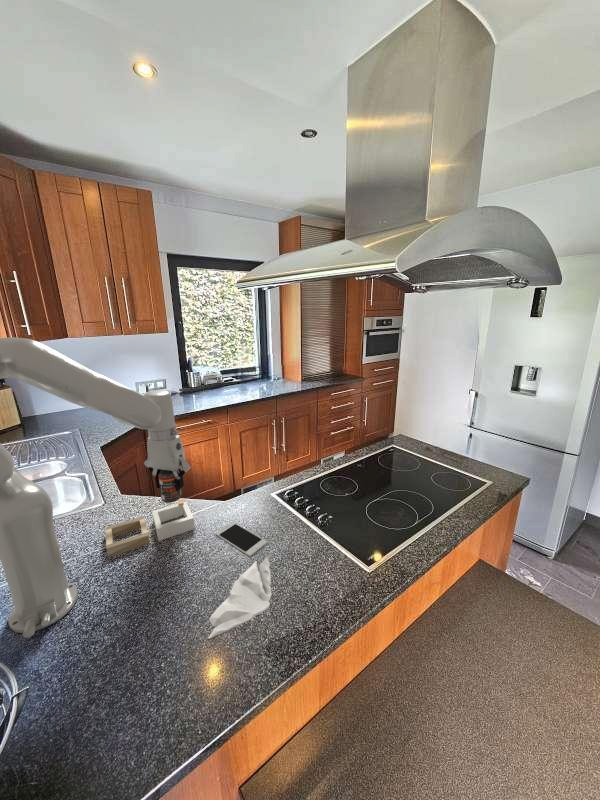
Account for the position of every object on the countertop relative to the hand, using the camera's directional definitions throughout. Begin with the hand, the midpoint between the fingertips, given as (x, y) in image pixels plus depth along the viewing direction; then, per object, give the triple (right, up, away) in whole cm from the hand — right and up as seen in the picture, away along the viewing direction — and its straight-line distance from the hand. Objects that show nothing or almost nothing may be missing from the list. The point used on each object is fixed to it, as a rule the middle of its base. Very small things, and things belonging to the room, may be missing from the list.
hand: (170, 486), depth 100 cm
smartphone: (+22, -15, -3) cm, 27 cm away
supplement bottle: (0, -4, +1) cm, 4 cm away
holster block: (-11, -15, -3) cm, 19 cm away
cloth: (+27, -21, -22) cm, 41 cm away
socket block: (0, -13, +3) cm, 14 cm away
